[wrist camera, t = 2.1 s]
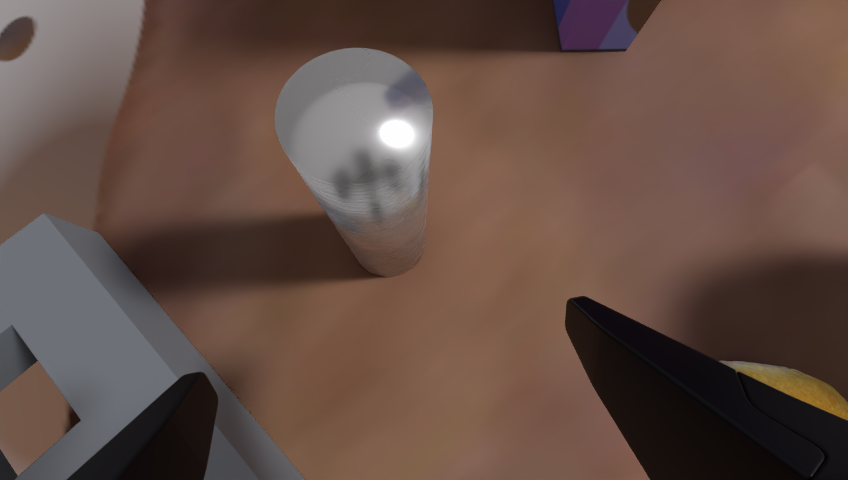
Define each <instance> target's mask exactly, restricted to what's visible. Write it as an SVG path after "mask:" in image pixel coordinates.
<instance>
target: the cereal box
mask: <svg viewBox="0 0 848 480" xmlns="http://www.w3.org/2000/svg"><path fill="white" fill-rule="evenodd" d="M660 1H661V0H552V2H553V8H554V14H555V20H556V26H557V32H558V38H559V44H560V50H561V52H603V51H626V50H627V48H628V47H629V46H630V44H631V43H632V41H633V40H634V38H635V37H636V35H637V34H638V33H639V31H640V30H641V28H642V27H643V25H644V24H645V23H646V21H647V20H648V18H649V17H650V15H651V14H652V12H653V11H654V10H655V8H656V7H657V5H658V4H659V2H660Z"/></svg>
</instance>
